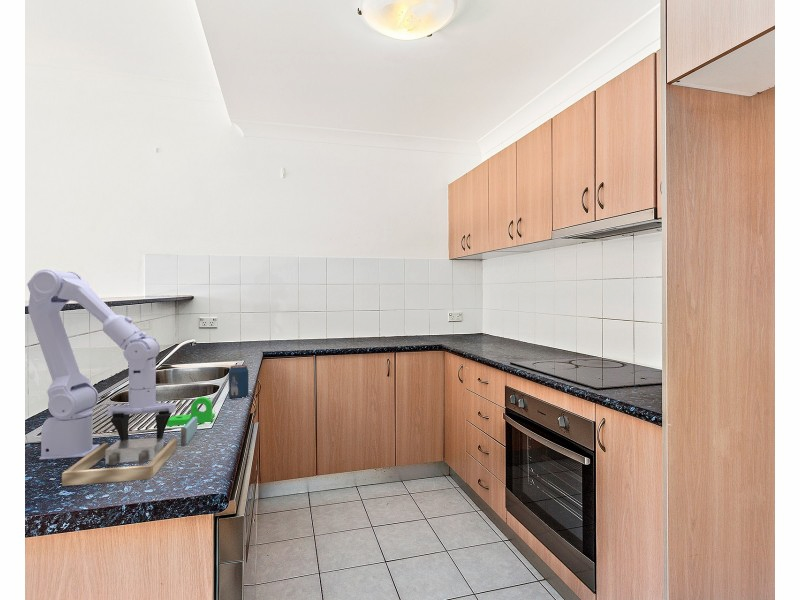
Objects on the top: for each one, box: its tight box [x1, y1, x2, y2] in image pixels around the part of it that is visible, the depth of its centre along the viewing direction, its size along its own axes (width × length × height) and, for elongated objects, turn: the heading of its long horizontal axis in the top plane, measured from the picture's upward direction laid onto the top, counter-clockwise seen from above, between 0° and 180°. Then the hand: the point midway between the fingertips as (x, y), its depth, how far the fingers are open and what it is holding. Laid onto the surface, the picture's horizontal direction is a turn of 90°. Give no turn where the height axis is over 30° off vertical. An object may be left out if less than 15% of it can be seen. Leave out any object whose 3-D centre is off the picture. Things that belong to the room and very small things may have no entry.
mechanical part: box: [166, 396, 216, 427], centre depth 133 cm, size 12×6×8 cm, turn 102°
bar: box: [183, 417, 198, 445], centre depth 118 cm, size 1×12×4 cm, turn 13°
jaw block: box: [104, 436, 165, 465], centre depth 104 cm, size 10×7×4 cm
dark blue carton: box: [228, 364, 249, 398], centre depth 166 cm, size 7×7×12 cm
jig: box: [61, 426, 187, 487], centre depth 100 cm, size 18×22×4 cm
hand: (142, 443), depth 109 cm, fingers open, 7 cm apart
